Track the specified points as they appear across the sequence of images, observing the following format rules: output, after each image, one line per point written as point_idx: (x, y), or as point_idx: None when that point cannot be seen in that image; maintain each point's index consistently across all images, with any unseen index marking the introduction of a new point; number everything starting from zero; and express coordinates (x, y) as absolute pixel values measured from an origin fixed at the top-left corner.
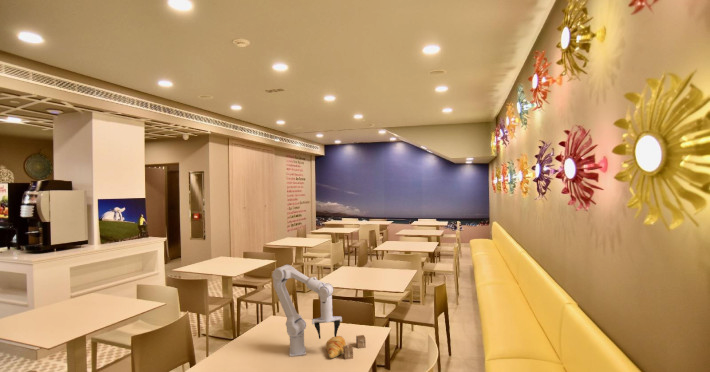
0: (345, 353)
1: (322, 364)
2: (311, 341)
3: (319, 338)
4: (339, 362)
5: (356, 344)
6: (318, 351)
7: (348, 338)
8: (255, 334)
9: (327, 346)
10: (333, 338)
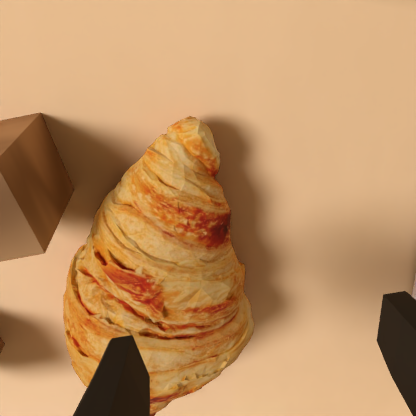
0: (8, 138)
1: (286, 11)
2: (345, 383)
3: (405, 295)
4: (89, 46)
5: (2, 348)
6: (309, 267)
7: None
8: None
9: (239, 284)
10: (181, 372)
